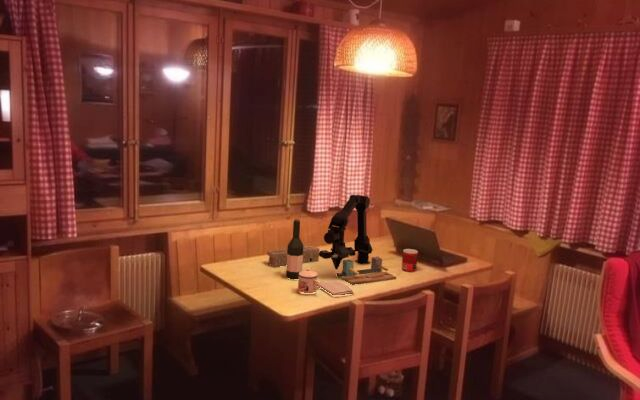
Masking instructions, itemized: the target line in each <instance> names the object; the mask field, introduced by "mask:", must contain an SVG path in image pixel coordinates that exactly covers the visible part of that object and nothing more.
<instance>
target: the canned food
mask: <svg viewBox="0 0 640 400" xmlns="http://www.w3.org/2000/svg"><path fill="white" fill-rule="evenodd" d="M418 256H419V251H418V250H417V249H412V248H405V249H403V250H402V260H401V270H402V271H403V272H406V273H415V272H416V271H417V267H418Z"/></svg>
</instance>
